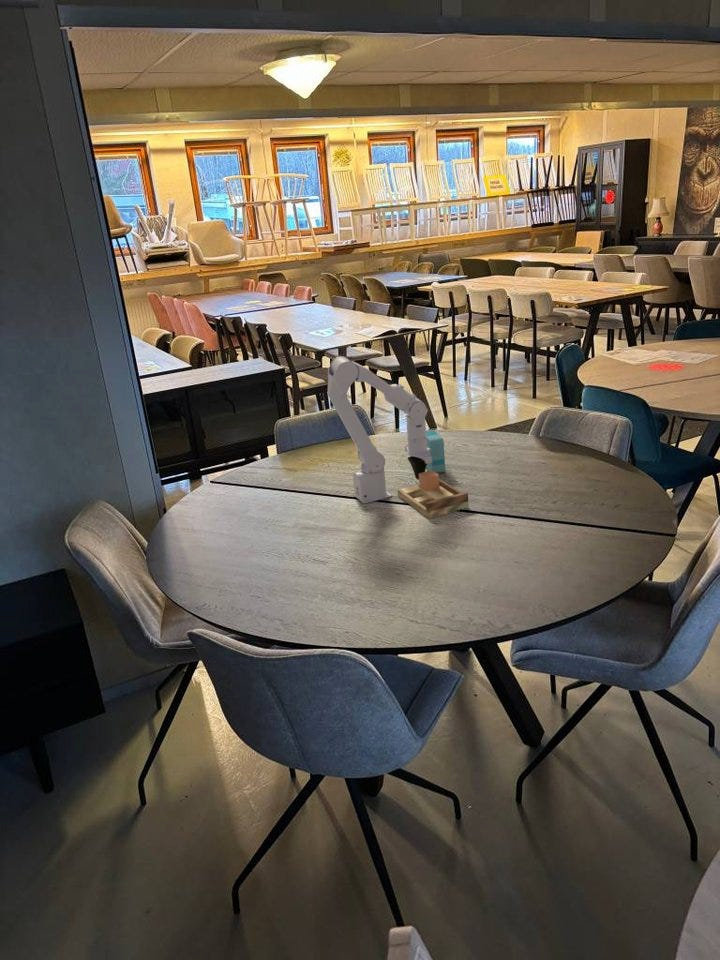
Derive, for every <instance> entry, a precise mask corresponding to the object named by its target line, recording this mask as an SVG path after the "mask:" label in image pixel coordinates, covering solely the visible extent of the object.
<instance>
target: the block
mask: <svg viewBox="0 0 720 960" xmlns="http://www.w3.org/2000/svg"><path fill="white" fill-rule="evenodd" d="M439 474H440V473H435V472H434V471H432V470H431V471H429V470H426V471H425V472H423V473H419V480H418V481H419V482H418V484H419V486H420V488H422V489H423V490H424V491H426V492H428V491H432V490H436V489H439V488H440V486H439V479H440V475H439Z"/></svg>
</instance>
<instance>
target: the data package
mask: <svg viewBox="0 0 720 960" xmlns="http://www.w3.org/2000/svg"><path fill="white" fill-rule="evenodd" d="M426 439H427V447H428V448H430V449H431V451H429V454H430V456H432V463H428V464H427V466H426V470H427V471H431V470H432V471H434V472H435V473H437V474H442V473H445V472H446V460H445V457H446V456H445V442H444V441H445V440H444V438H443V437H442V436H441V435H440V434H439V433H438V432H437V431H436V430H435V429H430V430H426Z"/></svg>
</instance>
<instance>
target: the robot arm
mask: <svg viewBox="0 0 720 960" xmlns="http://www.w3.org/2000/svg"><path fill="white" fill-rule="evenodd" d="M327 375H328V376H327V397H328V398H329V400H330V402H331V404H332V405H333V407H334V409H335V410H336V412H337V415H338V416H339V418H340V420H341V422H342V423H343V426H344V427H345V429H346V430H347V433H348V434H349V436H350V437H351V439H352V441H353V443H354V445H355V449H356V450H357V457H358V460H359V461H360V462H361V465H360V470H358V471H357V472H354V473H353V475H352V480H353V488H354V490H353V491H354V494H353V496H354V497H355V498H357V499H358V501H360V502H361V503H362V504H367V503H372V502H376V501H380V500H384V499H387V498H391V497H392V494H391V493H389V492H388V491H387V485H386V484H387V483H386V474H385V472H386V471H385V464H386V459H385V457H384V455H383V454H382V453H381V452H380V451H379V450H378V449H377V446H374V444H373V442H372V440H371V439H370V437H369V435H368V433H367V431H366V429H365V427H364V426H363V424H362V422H361V420H360V418H359V417H358V415H357V412H356V411H355V409H354V408H353V405H352V403H351V402H350V400H349V398H348V396H347V393H348V391H349V389H350V387H351V385H352V384H353V383H354V382H356V383H361V382H364V383H366V384H368V385H369V386H371V387H373V388H374V389H376V390H377V391H379V392H380V393H382V394H383V395H384V400H385V401H386V402H387V403H389V404H390V405H392V406H394V407H395V408H397V409H398V410H399V411H401V412H404V414H406V416H405V417H406V418H405V419H406V432H407V433H406V434H407V444H405V445H404V451H405V452H406V453H408V457H407V460H408V461H409V464H410V465H411V467H412V470H413V473H414V477H415V479H416V480H418V481H419V473H423V472H426V470H427V468H426V466H427V464H428V463H432V456H430V454H429V451H431V449H430V448H428V447H427V439H426V431H427V427H426V416H427V415H428V413H429V412H428V411H429V409H428V408H427V406H426V404H425V402H423V401H422V400H420V399H419V398H418V397H417V395H416V394H415V393H412V394H411V393H410V392H408V391H407V390H406V389H404V388H405V386H404V385H402V384H399V385H398V384H397V383H393V384H389V383H388V382H386V381H385V380H384V379H382V378H381V377H379V376H377V374H375V373H374V372H372V371H371V370H370V369H368V368H367V367H365V366H363V365H361V364H360V363H358V362H355V361H353V360H351V361H350V359H349V358H348V357H346V356H343V355H339V356H337V357H335V358H333V360H332V361H331V362H330V364H329V367H328V369H327Z"/></svg>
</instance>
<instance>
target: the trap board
mask: <svg viewBox="0 0 720 960" xmlns="http://www.w3.org/2000/svg"><path fill="white" fill-rule="evenodd" d="M439 486H440V488H439V489H436V490H432V491H428V492H426V491H424V490H423V489H422V488H420V486H419V483H418V484H414V485H410V486H407V487H403V488H398V489H397V496H398V497H399V498H400V499H402V500H403V501H404V502H406V504H408V505H410V506H411V507H412V508H413V509H415V510H416V511H417V512H419V513H420V514H421V515H423V516H424V517H426V518H427V519H433V518H436V517H438V516H443V515H447V514H451V513H454V511H455V512H457V510H458V511H461V510H460V509H462V510H464V508H466V509H468V507H469V493H468V492H466V491H464V492H462V491H460V490H458V488H455V487H453V486H452V485H450V484H449V483H447V482H446V481H444V480H443V479H441V478H439Z"/></svg>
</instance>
